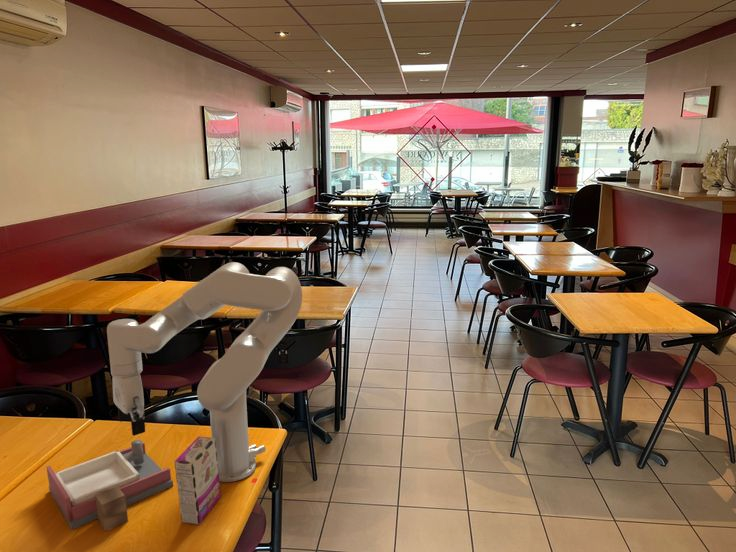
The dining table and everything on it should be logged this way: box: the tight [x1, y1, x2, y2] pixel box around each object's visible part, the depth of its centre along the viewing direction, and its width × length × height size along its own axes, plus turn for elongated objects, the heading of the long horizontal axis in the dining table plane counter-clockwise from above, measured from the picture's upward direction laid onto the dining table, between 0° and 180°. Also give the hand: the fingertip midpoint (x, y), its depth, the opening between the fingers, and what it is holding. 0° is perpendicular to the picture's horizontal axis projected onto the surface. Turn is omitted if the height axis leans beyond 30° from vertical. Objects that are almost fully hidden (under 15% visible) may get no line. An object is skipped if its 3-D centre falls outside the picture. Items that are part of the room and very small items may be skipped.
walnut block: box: [95, 486, 129, 532], centre depth 125 cm, size 5×5×7 cm
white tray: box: [54, 439, 144, 507], centre depth 137 cm, size 20×16×7 cm
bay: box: [46, 442, 174, 530], centre depth 137 cm, size 24×20×8 cm
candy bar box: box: [174, 436, 222, 526], centre depth 128 cm, size 11×5×16 cm, turn 168°
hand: (132, 426), depth 143 cm, fingers open, 9 cm apart
